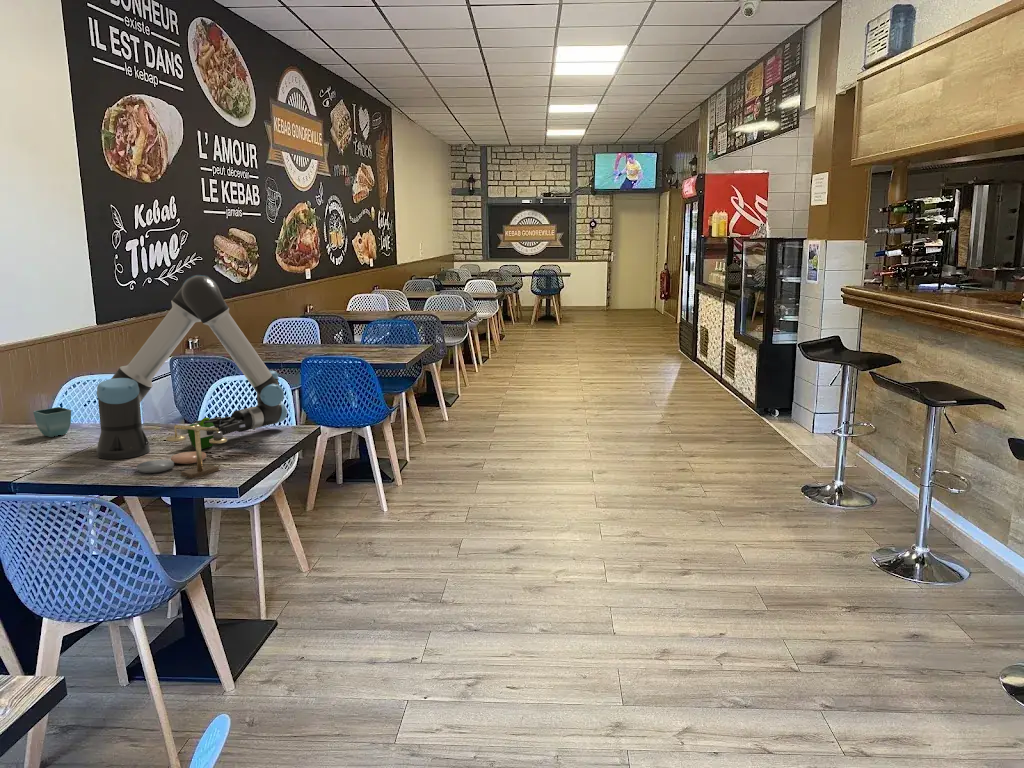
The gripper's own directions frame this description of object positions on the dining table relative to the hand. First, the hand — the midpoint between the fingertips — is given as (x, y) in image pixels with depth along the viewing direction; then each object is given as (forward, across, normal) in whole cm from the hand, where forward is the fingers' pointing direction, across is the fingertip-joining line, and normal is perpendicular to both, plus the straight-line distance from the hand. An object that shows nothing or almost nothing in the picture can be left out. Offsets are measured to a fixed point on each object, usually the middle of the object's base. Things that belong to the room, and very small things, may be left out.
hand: (188, 432), depth 240 cm
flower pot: (+13, +57, -6) cm, 59 cm away
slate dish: (+18, -10, -6) cm, 22 cm away
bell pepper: (-5, 0, -6) cm, 8 cm away
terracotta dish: (+7, -10, -6) cm, 14 cm away
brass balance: (+13, -24, -6) cm, 28 cm away
